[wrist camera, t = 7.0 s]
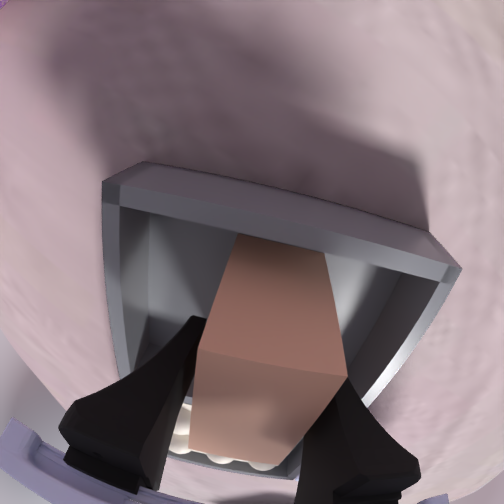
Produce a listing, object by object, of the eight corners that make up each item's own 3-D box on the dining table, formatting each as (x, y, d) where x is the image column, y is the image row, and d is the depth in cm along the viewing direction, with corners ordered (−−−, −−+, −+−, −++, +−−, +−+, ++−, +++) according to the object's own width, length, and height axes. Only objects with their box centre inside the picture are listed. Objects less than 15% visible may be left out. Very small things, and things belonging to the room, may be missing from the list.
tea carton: (284, 356, 17) (278, 465, 10) (217, 341, 17) (188, 448, 10) (324, 253, 13) (347, 376, 7) (237, 233, 13) (197, 348, 7)
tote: (294, 449, 23) (292, 479, 20) (149, 418, 23) (138, 447, 20) (429, 232, 13) (462, 269, 9) (142, 161, 12) (102, 181, 9)
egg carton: (279, 442, 22) (276, 478, 19) (167, 418, 22) (156, 454, 19) (310, 397, 18) (311, 444, 15) (166, 366, 18) (149, 411, 15)
